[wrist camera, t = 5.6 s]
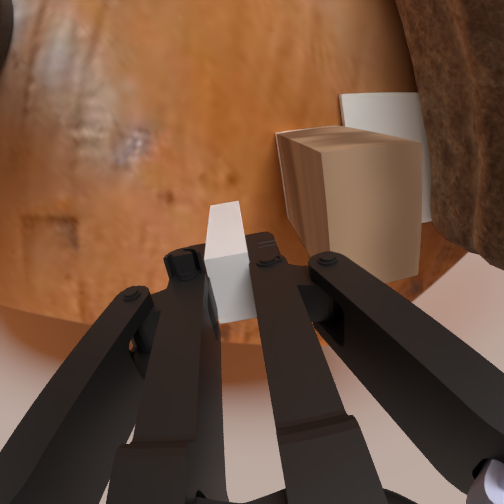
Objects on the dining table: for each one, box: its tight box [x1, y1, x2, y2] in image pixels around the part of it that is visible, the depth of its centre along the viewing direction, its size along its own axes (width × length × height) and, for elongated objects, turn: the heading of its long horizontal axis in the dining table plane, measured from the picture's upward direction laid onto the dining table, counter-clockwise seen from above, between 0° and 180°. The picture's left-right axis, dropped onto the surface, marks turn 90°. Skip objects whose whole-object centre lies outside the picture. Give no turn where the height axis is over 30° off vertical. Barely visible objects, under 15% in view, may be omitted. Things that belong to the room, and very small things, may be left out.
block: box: [275, 125, 422, 283], centre depth 20 cm, size 5×7×12 cm
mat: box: [338, 92, 432, 223], centre depth 25 cm, size 16×12×1 cm
